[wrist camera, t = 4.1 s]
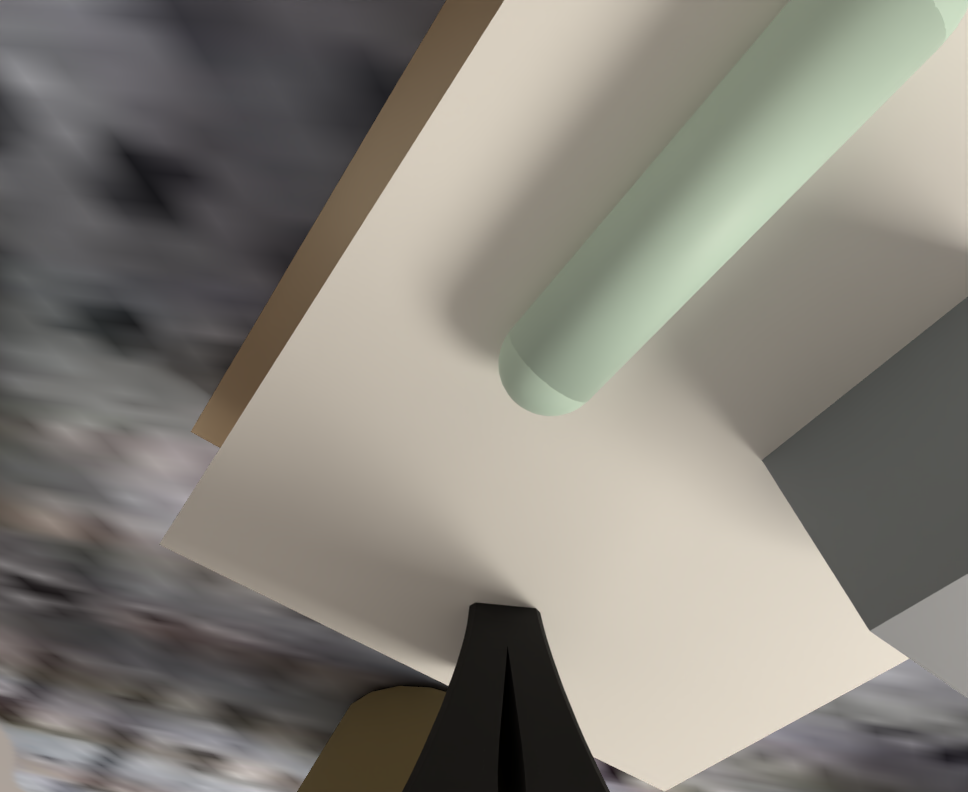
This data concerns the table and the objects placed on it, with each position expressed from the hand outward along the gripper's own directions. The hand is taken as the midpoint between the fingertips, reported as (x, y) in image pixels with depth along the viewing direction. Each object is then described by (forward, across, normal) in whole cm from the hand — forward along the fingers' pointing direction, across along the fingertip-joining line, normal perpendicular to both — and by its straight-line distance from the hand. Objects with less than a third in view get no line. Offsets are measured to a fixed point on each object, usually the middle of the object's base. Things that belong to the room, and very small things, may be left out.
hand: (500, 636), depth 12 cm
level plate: (0, -4, -7) cm, 8 cm away
